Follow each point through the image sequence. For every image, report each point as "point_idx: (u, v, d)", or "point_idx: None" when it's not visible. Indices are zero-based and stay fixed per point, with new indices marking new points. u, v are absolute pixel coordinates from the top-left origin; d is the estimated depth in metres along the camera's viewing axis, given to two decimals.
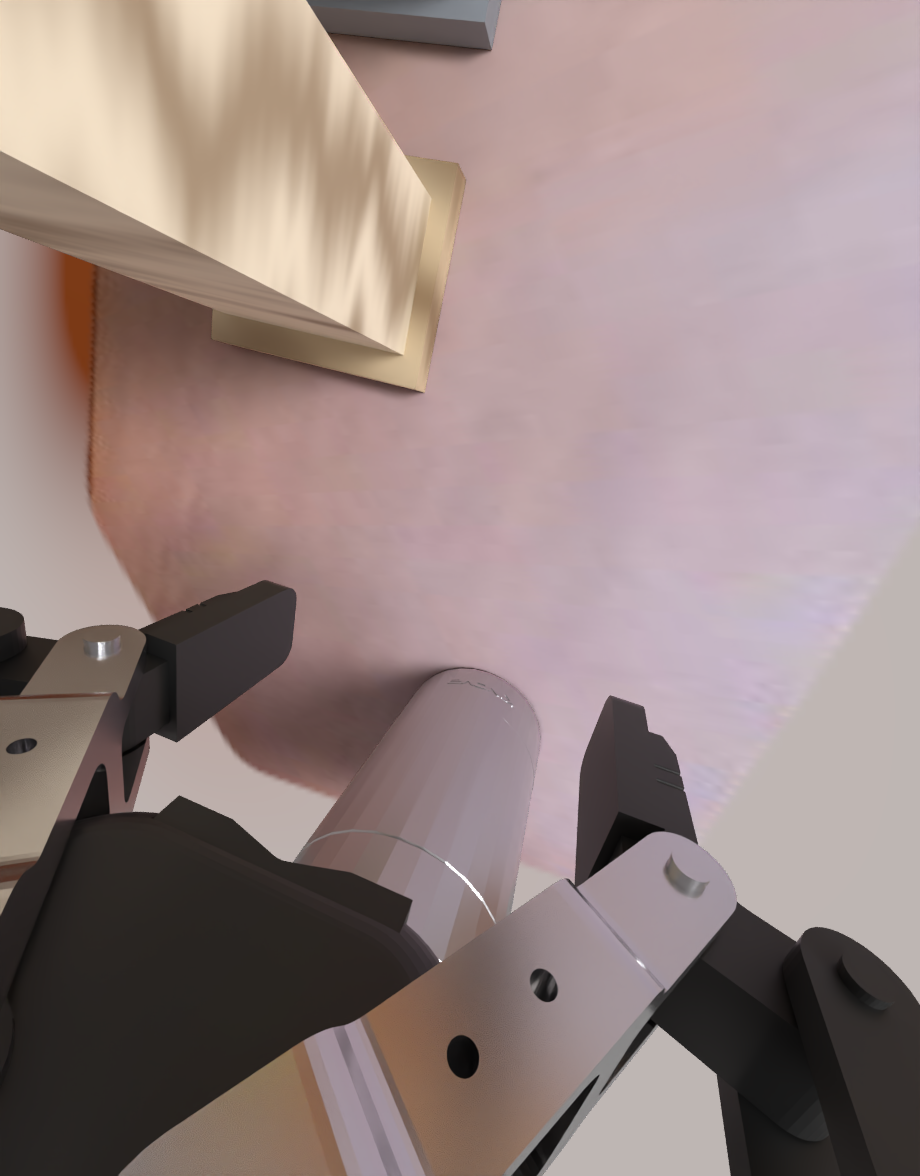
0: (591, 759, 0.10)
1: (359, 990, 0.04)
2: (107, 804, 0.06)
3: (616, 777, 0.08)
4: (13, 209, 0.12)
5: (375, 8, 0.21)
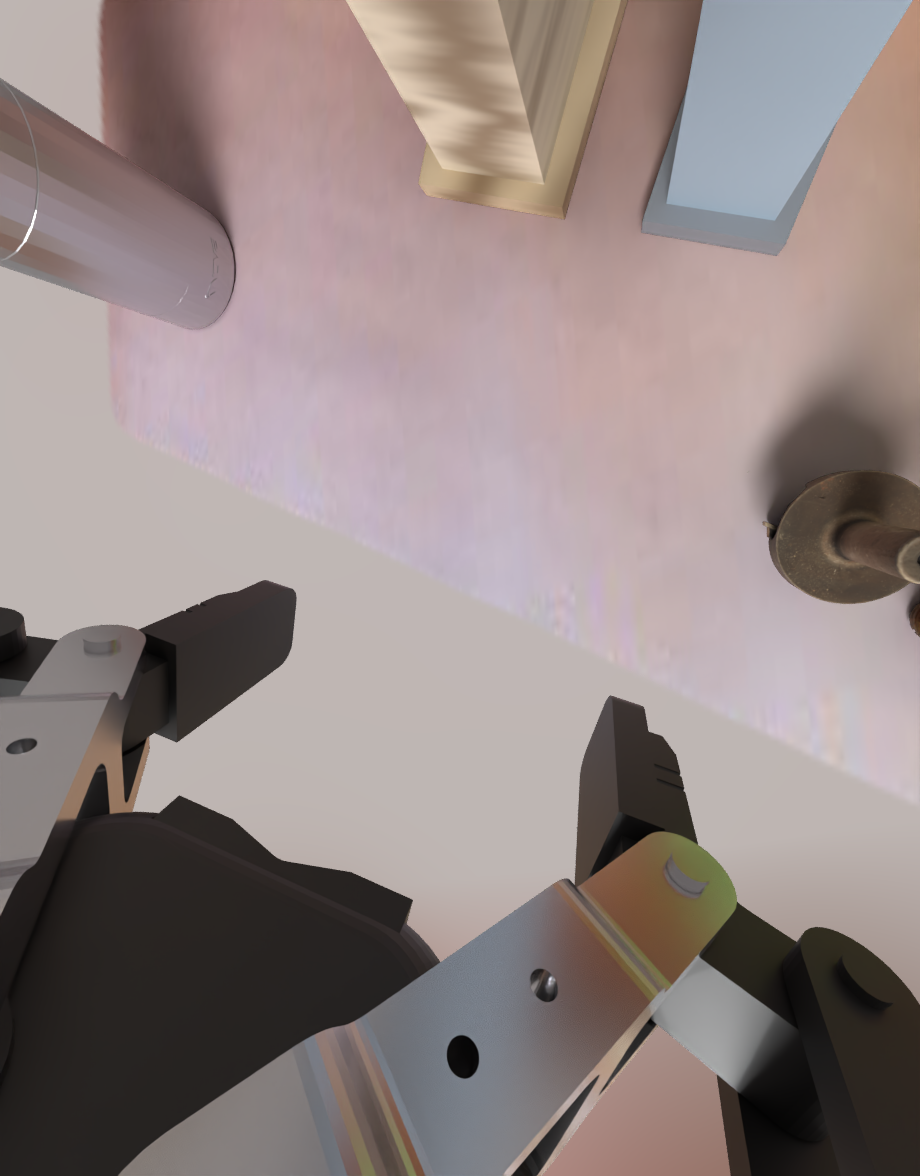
0: (591, 759, 0.10)
1: (359, 990, 0.04)
2: (107, 804, 0.06)
3: (616, 777, 0.08)
4: None
5: (680, 113, 0.26)
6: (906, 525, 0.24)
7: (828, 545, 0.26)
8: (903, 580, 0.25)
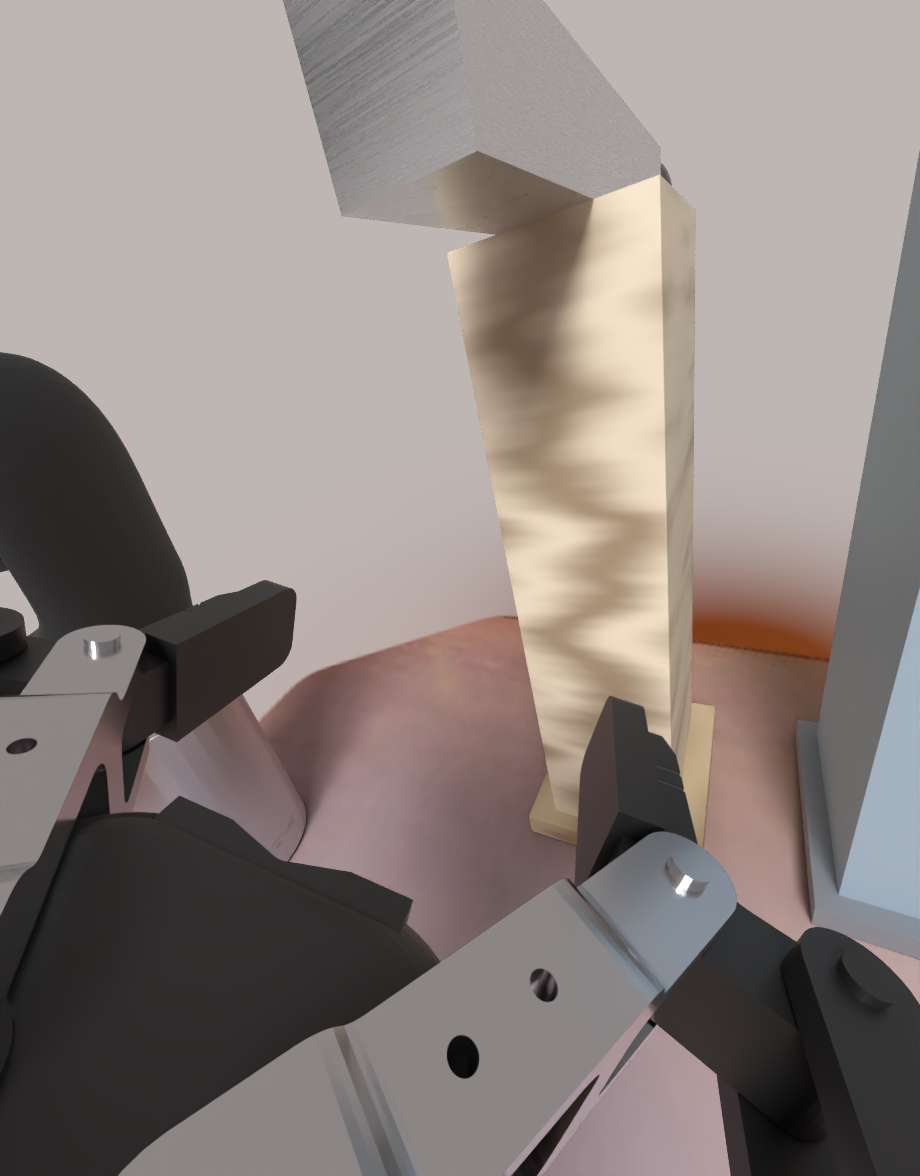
0: (591, 759, 0.10)
1: (359, 990, 0.04)
2: (107, 804, 0.06)
3: (616, 777, 0.08)
4: None
5: (809, 816, 0.27)
6: None
7: None
8: None
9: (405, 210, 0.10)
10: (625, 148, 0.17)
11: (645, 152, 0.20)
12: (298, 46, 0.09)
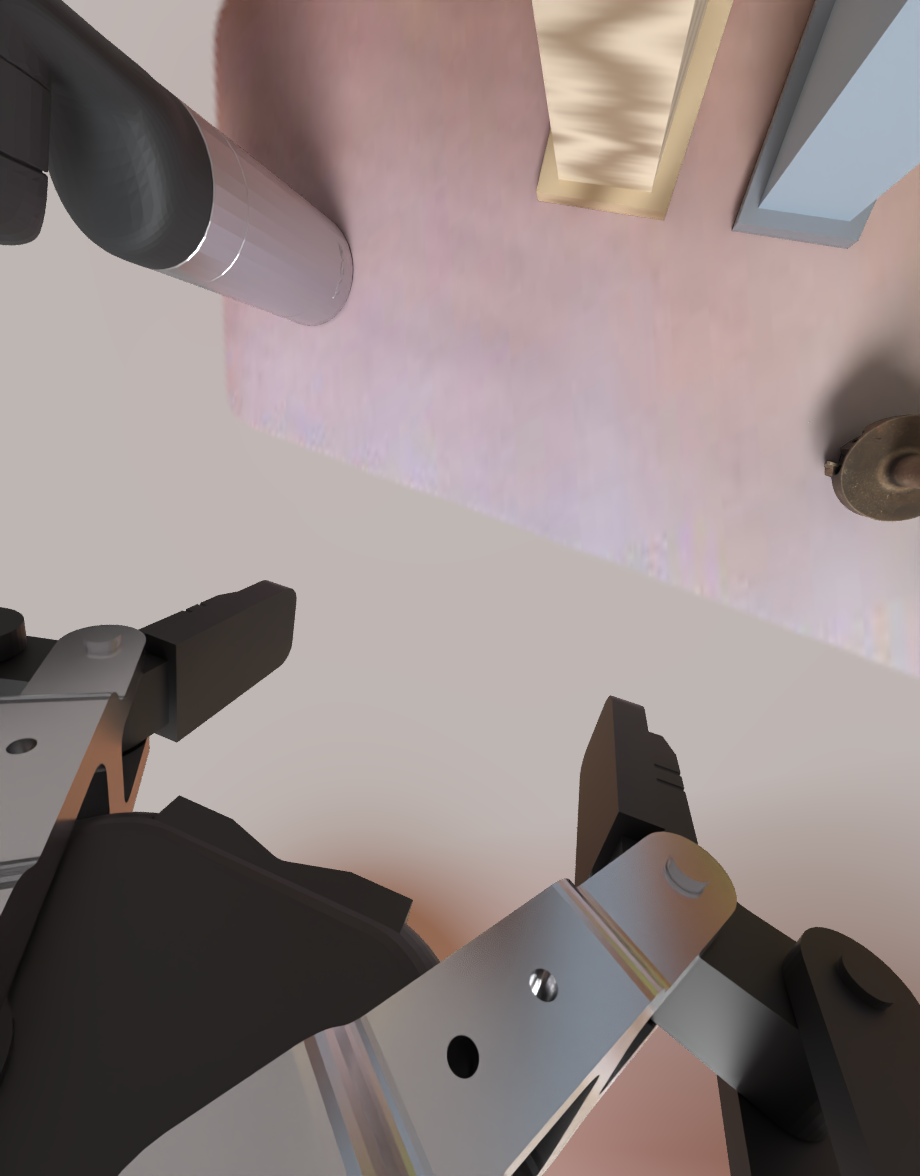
0: (591, 759, 0.10)
1: (359, 989, 0.04)
2: (106, 804, 0.06)
3: (615, 777, 0.08)
4: None
5: (772, 131, 0.32)
6: None
7: (882, 476, 0.33)
8: None
9: None
10: None
11: None
12: None
